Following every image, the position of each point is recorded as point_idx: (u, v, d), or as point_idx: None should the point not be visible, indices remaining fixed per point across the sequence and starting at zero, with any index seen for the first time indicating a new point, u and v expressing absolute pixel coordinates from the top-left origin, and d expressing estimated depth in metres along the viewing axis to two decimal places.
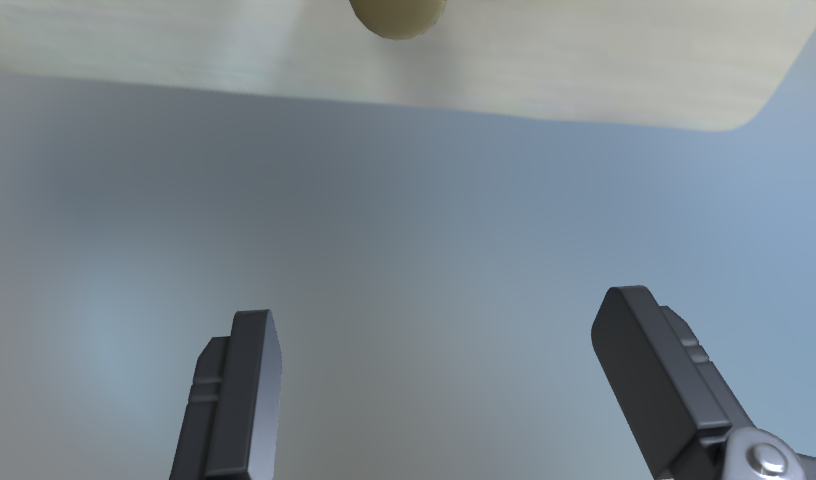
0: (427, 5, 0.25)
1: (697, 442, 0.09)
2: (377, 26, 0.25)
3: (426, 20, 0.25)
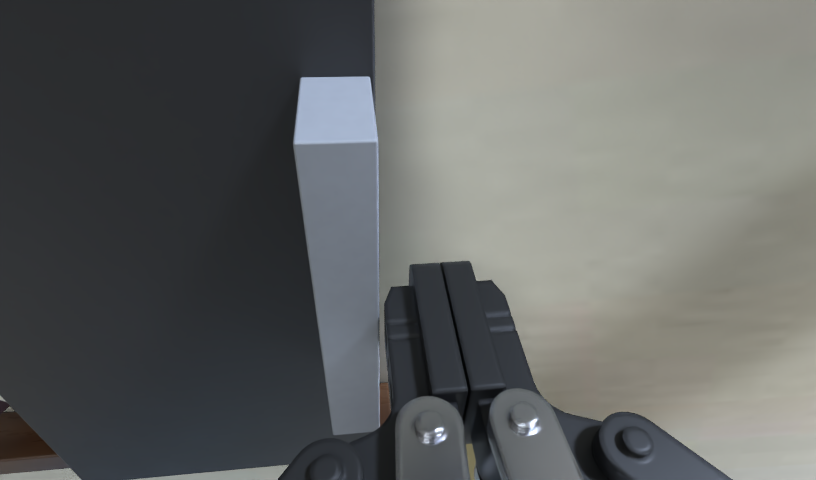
0: None
1: (479, 404, 0.10)
2: None
3: None
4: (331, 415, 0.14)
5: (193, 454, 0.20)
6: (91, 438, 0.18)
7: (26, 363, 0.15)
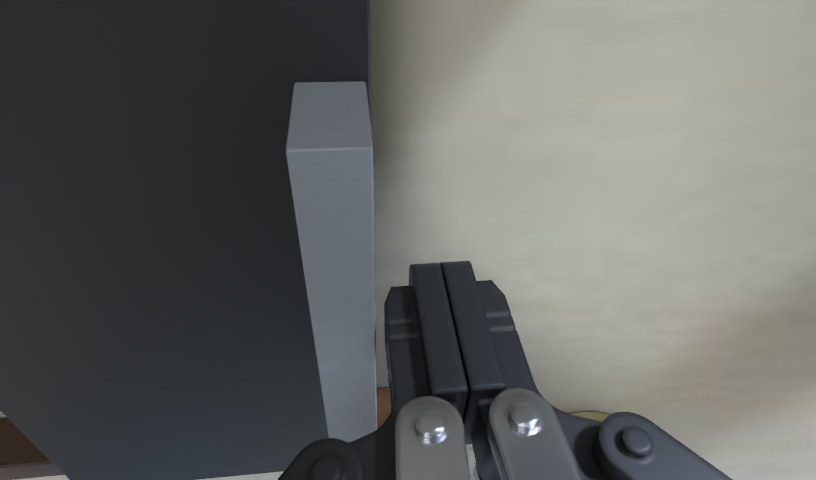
0: None
1: (479, 404, 0.10)
2: None
3: None
4: (327, 423, 0.14)
5: (189, 461, 0.20)
6: (86, 445, 0.18)
7: (19, 370, 0.15)
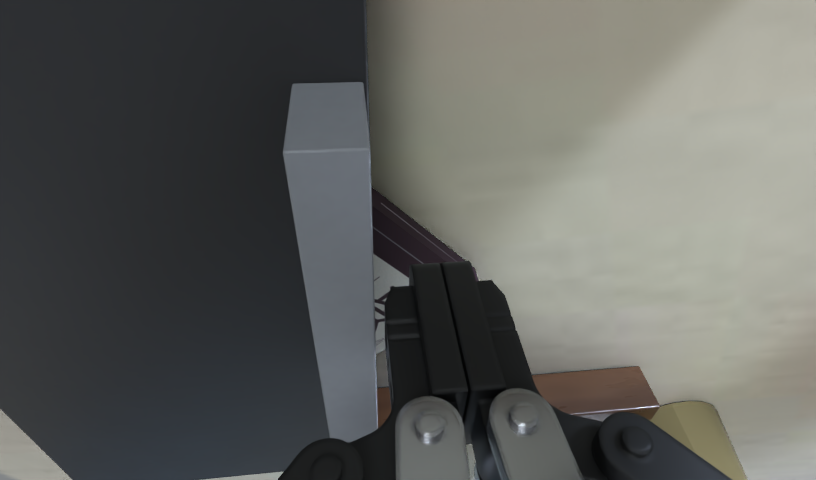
0: None
1: (479, 404, 0.10)
2: None
3: None
4: (328, 424, 0.14)
5: (192, 461, 0.20)
6: (89, 446, 0.18)
7: (21, 372, 0.15)
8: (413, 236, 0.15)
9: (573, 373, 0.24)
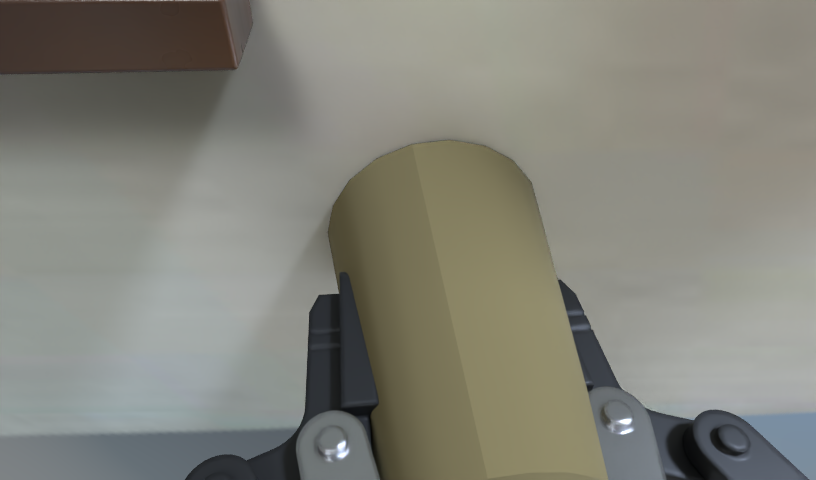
0: None
1: None
2: None
3: None
4: None
5: None
6: None
7: None
8: None
9: None
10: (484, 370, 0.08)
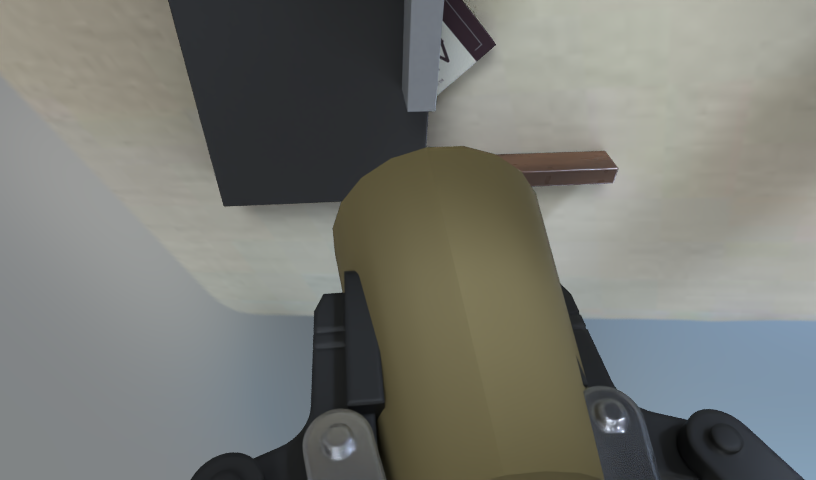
0: None
1: None
2: None
3: None
4: (408, 89, 0.23)
5: (300, 180, 0.29)
6: (239, 153, 0.27)
7: (218, 69, 0.24)
8: None
9: (558, 153, 0.33)
10: (499, 370, 0.09)
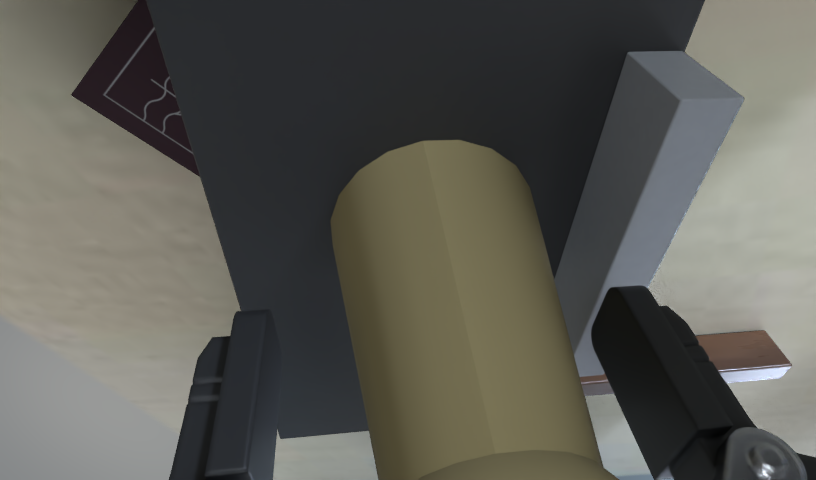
0: None
1: (697, 442, 0.09)
2: None
3: None
4: None
5: None
6: (307, 392, 0.20)
7: (289, 316, 0.17)
8: None
9: (706, 336, 0.26)
10: (492, 354, 0.09)
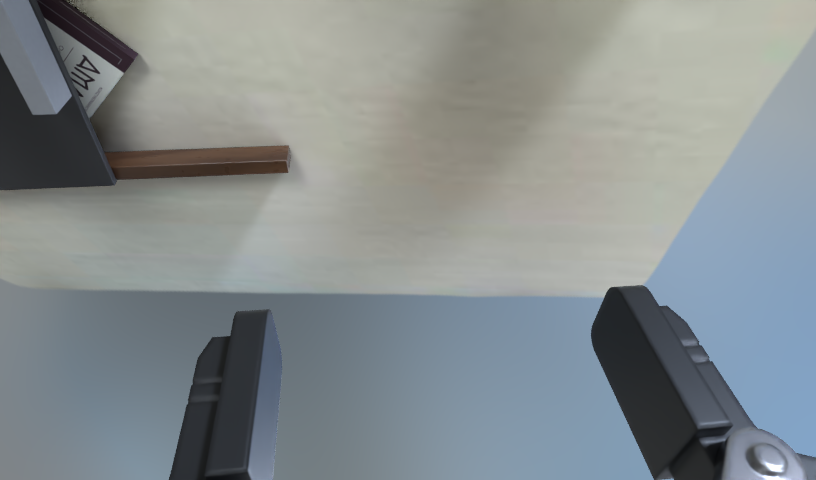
0: None
1: (697, 442, 0.09)
2: None
3: None
4: (23, 97, 0.30)
5: None
6: None
7: None
8: (80, 20, 0.31)
9: (245, 147, 0.40)
10: None
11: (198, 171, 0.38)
